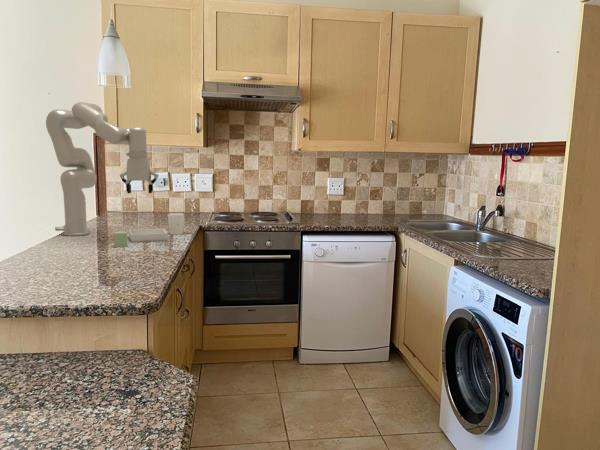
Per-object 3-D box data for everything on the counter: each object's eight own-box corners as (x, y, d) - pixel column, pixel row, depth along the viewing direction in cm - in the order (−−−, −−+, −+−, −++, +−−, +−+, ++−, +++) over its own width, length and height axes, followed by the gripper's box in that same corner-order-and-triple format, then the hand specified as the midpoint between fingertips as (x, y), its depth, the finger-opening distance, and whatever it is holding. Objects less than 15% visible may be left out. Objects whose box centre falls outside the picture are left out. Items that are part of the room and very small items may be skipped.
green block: (115, 247, 206) (114, 233, 205) (114, 245, 211) (113, 231, 210) (127, 246, 208) (127, 233, 207) (126, 244, 213) (126, 231, 212)
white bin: (131, 242, 218) (131, 234, 217) (128, 237, 232) (128, 229, 232) (168, 240, 224) (167, 233, 224) (163, 235, 239) (162, 228, 238)
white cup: (165, 234, 242) (164, 214, 241) (175, 232, 249) (175, 212, 248) (177, 235, 239) (176, 215, 237) (187, 233, 246) (187, 213, 244)
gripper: (116, 155, 217) (118, 193, 219) (155, 155, 217) (156, 193, 219) (121, 155, 224) (123, 192, 226) (159, 155, 224) (160, 192, 227)
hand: (139, 193), depth 223 cm, fingers open, 9 cm apart
